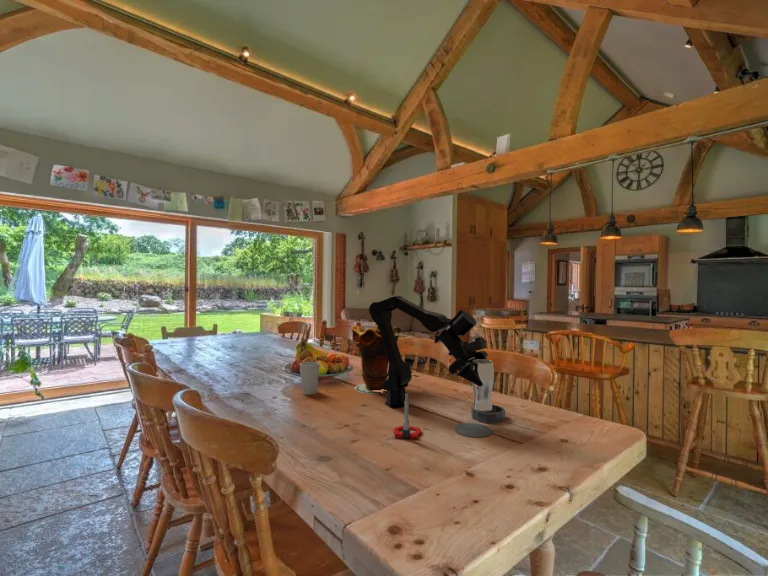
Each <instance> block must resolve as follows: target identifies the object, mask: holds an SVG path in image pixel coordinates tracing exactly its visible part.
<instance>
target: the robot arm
mask: <svg viewBox="0 0 768 576" xmlns="http://www.w3.org/2000/svg"><path fill="white" fill-rule="evenodd" d="M395 310H400V311H401V312H403V313H404V314H406V315H409V316H410V317H412V318H414V319H416V320H418V321H419V322H420V323H421V325H422V326H423V327H424V329H425V328H426V329H427V331H429V332H431V333H437V332H440V333H439V334H435V335H434V344H438V343H442V344H443V346H444V347H445V348H446V349H447V351H448V353H447V355H448V356H449V357H453V359H455V360H454V361H453V362H452V363H451V364H450V365H448V372H449V373H450V374H451V376H455V375H456V376H457V377H460V378H463V379H465V380H467V381H469V382H470V383H471V384H472V383H474V384H476V385H478V386H480V387H481V386H482V385H483V383H482V382H481V380H480V378H479V377H478V375H477V374H476V372H475V371H474V369H473V362H472V361H473V360H477V359H484V360H488V359H487V358H488V356H489V354H488V353H487V352H486V351H485V350H483V349H487V348H488V346H487V343H488V342H487V340H486V339H485V337H482V336H479V337H475V339H474V341H471V342H469V341H466V340H463V339H462V338H461V337H460V336H462V337H465V336H466V335H467V334H468V333H469V332H470V331H471V330H472V329H473V328H474V327H475V326H476V325H477V324H478V323H477V321H476V319H475V318H474V316H472V315H471V314H469V313H468V312H465V310H464V309H460V310H459V311H457V314H456V315H455V316H454V317H453V318H448V316H447V315H445V314H442V313H440V312H439V313H438V312H436V311H429V310H427V309H424V308H423V307H421V306H420V305H418V304H416V303H414V302H411V301H409V300H408V299H406V298H404V297H403V296H401V295H392V296H390V297H388V298H385V299H383V300H380V301H374V302H371V304H370V305H369V308H368V313H369V315H370V317H371V319H372V321H373V322H374V323H375V324H376V326H378V327H379V330H380V334H381V337H382V340H383V344H384V347H385V351H386V354H387V357H388V369H387V373H388V377H387V380H386V381H385V382H384V383H383V387H384V390H387V393H386V401H385V402H384V404H385V405H386V406H387V407H390V408H392V409H396V408H404V406H405V394H406V393H407V391H406V388H408V386H409V383H410V382H411V380H412V376H413V375H412V374H413V371H412V369H411V365H410V363H409V362H405V361H404V359H403V358H402V355H401V352H400V348H399V345H398V341H397V342H396V338H395V335H394V332H393V326H392V318H393V314H392V312H394V311H395Z"/></svg>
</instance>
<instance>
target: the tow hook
mask: <svg viewBox="0 0 768 576" xmlns="http://www.w3.org/2000/svg"><path fill="white" fill-rule="evenodd" d="M403 408H404V409H403V410H404V412H403V413H404V414H403V415H404V416H403V417H404V418H403V425H400V426H395V428H393V434H394V439H403V440H418V438H419V436H421V435H422V434H423V433H422V431H423V430H422V429H421V428H419V427H417V426H413V425H410V420H409V408H410V406H409V394H408V393H407V392H406V394H405V406H403ZM411 431H414V432H411Z"/></svg>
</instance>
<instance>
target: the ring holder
mask: <svg viewBox="0 0 768 576" xmlns="http://www.w3.org/2000/svg"><path fill="white" fill-rule="evenodd" d="M470 409H471V410H470V411H471V415H470V416H471V419H473V420H475V422H476V421H477V422H479V423H483V424H499V423H503V422H505V420H506V410H505V408H504V407H502V406H500V405H496V404H492V410H491V411H485V412H484V411H477V410H475V409H473V405H472V406H471V408H470Z"/></svg>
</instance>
